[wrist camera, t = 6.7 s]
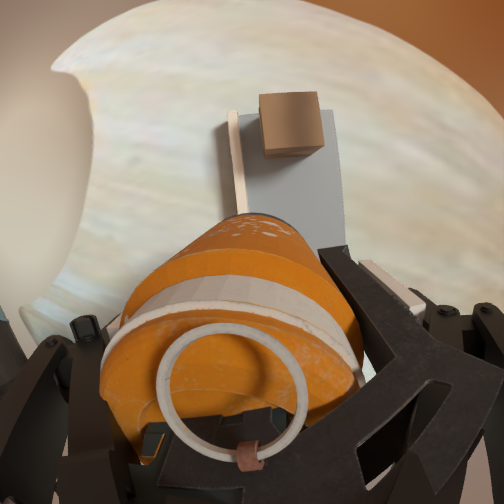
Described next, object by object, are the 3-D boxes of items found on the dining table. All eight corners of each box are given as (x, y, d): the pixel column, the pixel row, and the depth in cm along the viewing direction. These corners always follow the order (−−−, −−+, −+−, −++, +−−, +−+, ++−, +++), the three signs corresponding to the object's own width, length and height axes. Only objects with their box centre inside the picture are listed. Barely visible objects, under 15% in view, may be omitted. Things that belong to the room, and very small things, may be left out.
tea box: (263, 159, 35) (263, 149, 26) (258, 116, 33) (257, 94, 25) (310, 155, 34) (324, 145, 26) (304, 113, 33) (316, 91, 24)
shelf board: (247, 287, 40) (246, 297, 36) (229, 119, 35) (225, 111, 31) (343, 277, 39) (351, 286, 35) (330, 111, 34) (337, 103, 30)
